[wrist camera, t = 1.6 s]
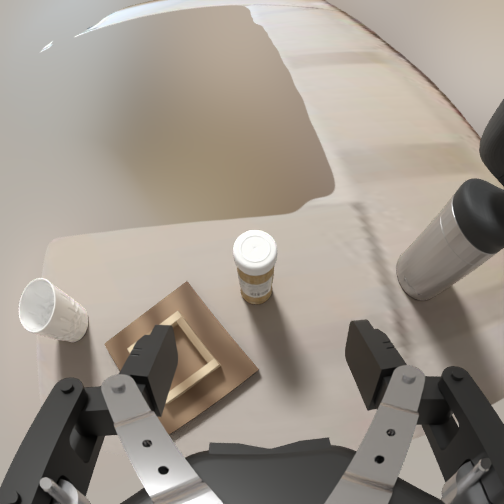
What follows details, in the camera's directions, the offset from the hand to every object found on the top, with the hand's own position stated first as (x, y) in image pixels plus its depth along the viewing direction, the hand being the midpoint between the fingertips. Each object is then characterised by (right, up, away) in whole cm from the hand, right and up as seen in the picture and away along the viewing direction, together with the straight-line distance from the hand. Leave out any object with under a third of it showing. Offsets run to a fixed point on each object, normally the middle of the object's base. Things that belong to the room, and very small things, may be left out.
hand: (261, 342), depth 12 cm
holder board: (-11, -11, +24) cm, 29 cm away
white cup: (-30, -8, +26) cm, 40 cm away
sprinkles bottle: (0, -2, +29) cm, 29 cm away
